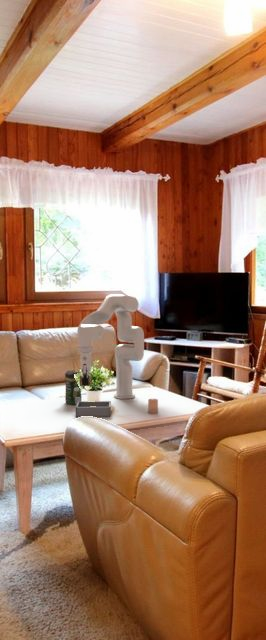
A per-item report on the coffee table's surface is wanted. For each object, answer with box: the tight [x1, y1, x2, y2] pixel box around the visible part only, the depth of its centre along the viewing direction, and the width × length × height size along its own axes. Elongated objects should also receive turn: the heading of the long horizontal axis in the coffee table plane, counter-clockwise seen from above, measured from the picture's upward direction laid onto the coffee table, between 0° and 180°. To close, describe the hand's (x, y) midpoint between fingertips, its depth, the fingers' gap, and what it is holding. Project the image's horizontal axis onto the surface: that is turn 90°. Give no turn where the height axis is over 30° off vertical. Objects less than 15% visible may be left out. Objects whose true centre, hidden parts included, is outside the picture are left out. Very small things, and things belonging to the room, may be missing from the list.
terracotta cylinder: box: [147, 398, 159, 415], centre depth 280 cm, size 5×5×7 cm
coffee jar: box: [64, 369, 82, 406], centre depth 302 cm, size 10×8×19 cm
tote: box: [75, 400, 112, 418], centre depth 278 cm, size 14×18×5 cm
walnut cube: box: [80, 374, 92, 387], centre depth 277 cm, size 5×5×5 cm
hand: (85, 384), depth 277 cm, fingers closed on walnut cube, 5 cm apart
